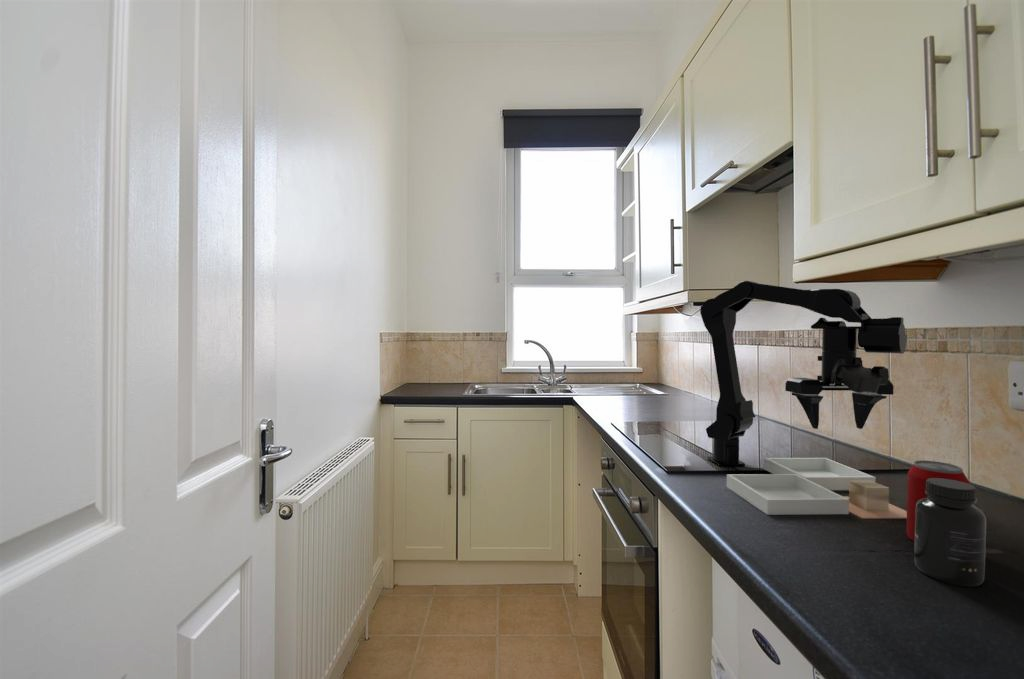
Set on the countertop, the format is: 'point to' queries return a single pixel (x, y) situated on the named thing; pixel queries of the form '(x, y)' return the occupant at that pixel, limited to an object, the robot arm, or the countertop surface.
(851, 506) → the tile
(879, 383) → the robot arm
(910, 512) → the beverage can
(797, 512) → the tray
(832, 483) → the tray
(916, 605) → the countertop surface
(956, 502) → the supplement bottle
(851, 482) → the beech cube
